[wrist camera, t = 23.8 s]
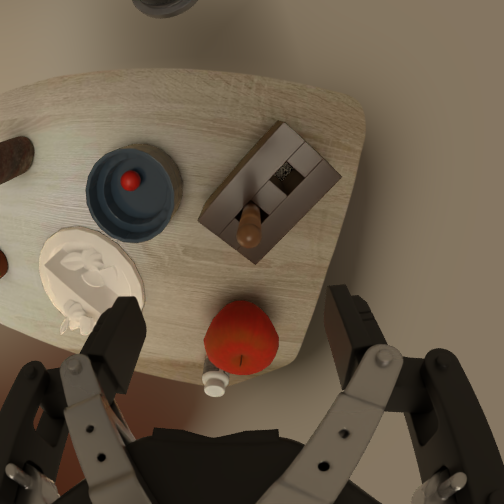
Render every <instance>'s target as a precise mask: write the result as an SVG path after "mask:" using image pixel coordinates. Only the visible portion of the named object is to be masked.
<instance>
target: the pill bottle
mask: <svg viewBox="0 0 504 504" xmlns="http://www.w3.org/2000/svg"><path fill="white" fill-rule="evenodd" d="M202 381H203V383H204V384H205V386H204V391H205V393H206V394H207V395H209V396H212V397H219V396H222V395H223V394H224V392H225V387H226V386H227V385H228V383H229V373H228V372H226V371H224V370H221V369H219V368H217V367H216V366H215V365H214V364H213V363H212V362H211V361H210V360H209V358H208V356H207V353H206V356H205V362H204V369H203V376H202Z"/></svg>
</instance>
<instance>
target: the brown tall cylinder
mask: <svg viewBox="0 0 504 504" xmlns="http://www.w3.org/2000/svg"><path fill="white" fill-rule="evenodd" d="M33 155H34V148H33V145H32V144H31V142H30V141H29V139H28V138H26V137H21V136H20V137H15V138H12V139H9V140H6V141H3V142H0V184H2V183H5V182H7V181H9V180H11V179H13V178H15V177H17V176H19V175H21V174H23V173H25V172H26V171H27V169H28V168H29V167H30V165H31V162H32V158H33Z"/></svg>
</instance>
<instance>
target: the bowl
mask: <svg viewBox="0 0 504 504" xmlns="http://www.w3.org/2000/svg"><path fill="white" fill-rule="evenodd" d="M130 170H132V171H135V172H137V173H138V174H139V176H140V178H141V182H140V185H139V187H138V188H137V189H136V190H134V191H127V190H125V189H124V188H123V187H122V186H121V177H122V175H123V174H124V173H125V172H127V171H130ZM181 199H182V179H181V176H180V172H179V169H178V167H177V166H176V164H175V163H174V161H173V160H172V159H171V157H170V156H169V155H167V154H166V153H165V152H163V151H162V150H161V149H159V148H157V147H154V146H151V145H148V144H131V145H128V146H125V147H122V148H119V149H117V150H114V151H112V152H109V153H107V154H105V155H104V156H103V157H102V158H101V159H99V160H98V161H97V162H96V163H95V165H94V166H93V168H92V170H91V172H90V174H89V176H88V180H87V185H86V200H87V206H88V208H89V211H90V213H91V216H92V218H93V219H94V221H95V222H96V223H97V225H98V226H99V227H100V228H101V230H103V231H104V232H105V233H107V234H108V235H109V236H110V237H112V238H115V239H117V240H120V241H122V242H129V243H140V242H144V241H148V240H151V239H152V238H154V237H155V236H157V235H158V234H160V233H161V232H162V231H163V230H164V228H165V227H166V226H167V224H168V223H169V222H170V220H171V219H172V217H173V216H174V214H175V213H176V211H177V210H178V208H179V205H180V202H181Z"/></svg>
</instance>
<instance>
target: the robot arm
mask: <svg viewBox="0 0 504 504" xmlns="http://www.w3.org/2000/svg"><path fill="white" fill-rule="evenodd" d="M140 1H141V2H142V3H143V4H144V5H146V6H148V7H151V8H166V7H170V6H172V5H175V4H177V3H179V2H180V1H182V0H140ZM324 326H325V331H326V334H327V337H328V341H329V344H330V348H331V351H332V355H333V358H334V362H335V365H336V369H337V373H338V376H339V380H340V384H341V387H342V390H344V392H341V393H340V394H339V395H338V396H337V398H336V399H335V401H334V403H333V404H332V406H331V408H330V409H329V411H328V412H327V414H326V415H325V417H324V418H323V420H322V421H321V423H320V424H319V426H318V427H317V429H316V430H315V432H314V433H313V435H312V436H311V437H310V439H309V440H308V442H307V443H306V445H304V444H302V443H300V442H297V441H295V440H292V439H288V438H282V437H279V432H278V429H274V430H255V431H243V432H239V433H235V434H231V435H226V436H221V437H216V438H211V437H207V436H203V435H199V434H195V433H192V432H188V431H185V430H178V429H165V428H154V430H153V435H152V436H147V437H143V438H140V439H137V440H135V438H134V436H133V435H132V433H131V431H130V429H129V427H128V425H127V423H126V421H125V419H124V417H123V415H122V413H121V411H120V410H119V407H118V405H117V402H116V401H115V399H114V397H115V394H116V393H119V394H126V393H127V389H128V386H129V383H130V380H131V377H132V374H133V372H134V369H135V366H136V363H137V360H138V357H139V354H140V351H141V349H142V346H143V343H144V340H145V338H146V323H145V321H144V318H143V315H142V312H141V309H140V306H139V303H138V300H137V298H136V297H135V296H119V297H117V299H116V301H115V302H114V304H113V306H112V308H108V309H107V310H106V311H105V312H103V313H102V314H101V315H100V317H99V319H98V321H97V322H96V325H95V326H94V328H93V331H92V332H91V333H90V335H89V337H88V339H87V340H86V342H85V344H84V346H83V348H82V350H81V352H80V354H75V355H72V356H70V357H68V358H67V359H66V360H65V361H64V362H63V363H62V364H61V367H60V368H55V369H48V370H46V368H45V367H44V365H43V364H42V363H41V362H39V361H31V362H29V363H27V364H26V365H24V366H23V367H22V369H21V370H20V372H19V374H18V376H17V378H16V380H15V382H14V384H13V386H12V388H11V390H10V392H9V394H8V396H7V398H6V400H5V402H4V404H3V407H2V409H1V411H0V504H382V503H380V502H379V501H377V500H376V499H375V498H373V497H372V496H370V495H369V494H367V493H366V492H365V491H364V490H362V489H361V488H360V487H358V486H357V485H356V484H354V483H353V482H352V481H351V480H349V478H350V476H351V474H352V473H353V471H354V469H355V467H356V466H357V464H358V462H359V461H360V459H361V457H362V455H363V453H364V451H365V450H366V448H367V446H368V444H369V442H370V440H371V438H372V436H373V434H374V432H375V430H376V428H377V426H378V424H379V422H380V419H381V417H382V415H383V413H384V411H388V412H404V416H405V419H406V422H407V426H408V429H409V433H410V436H411V440H412V444H413V448H414V451H415V455H416V459H417V463H418V467H419V472H420V476H421V480H422V485H421V486H419V487H418V489H416V491H415V492H414V494H413V497H412V504H504V465H503V462H502V459H501V456H500V453H499V450H498V447H497V445H496V442H495V440H494V437H493V434H492V432H491V429H490V427H489V425H488V422H487V420H486V417H485V415H484V413H483V410H482V408H481V406H480V404H479V402H478V399H477V397H476V395H475V393H474V391H473V389H472V386H471V384H470V382H469V381H468V378H467V376H466V374H465V372H464V370H463V368H462V367H461V365H460V363H459V361H458V359H457V357H456V356H455V355H454V354H453V353H452V352H450V351H448V350H446V349H441V348H438V349H433V350H431V351H429V352H428V353H427V355H426V356H425V359H422V358H408V357H403V356H402V355H401V353H400V352H399V351H398V350H397V349H396V348H394V347H392V346H390V345H388V344H387V342H386V340H385V338H384V336H383V334H382V332H381V330H380V328H379V326H378V324H377V322H376V320H375V318H374V316H373V314H372V313H371V310H370V308H369V306H368V304H367V302H366V301H365V300H363V299H362V298H361V297H360V296H359V295H355V296H351V295H350V293H349V291H348V288H347V286H346V285H344V284H343V285H333V286H327V289H326V299H325V309H324ZM39 406H40V407H41V408H42V409H43V410H44V411H43V413H42V416H41V418H40V421H39V424H38V427H37V429H36V431H35V429H34V426H33V421H34V417H35V415H36V413H37V410H38V408H39ZM68 433H70V436H71V439H72V442H73V445H74V448H75V451H76V454H77V457H78V459H79V462H80V465H81V468H82V470H83V473H84V475H85V479H83V480H82V481H81V482H79V483H78V484H77V485H76V486H74V487H73V488H71V489H70V490H69V491H67V492H66V493H65V494H63V495H62V496H61V497H60V495H59V494H58V492H57V488H56V485H55V481H56V477H57V473H58V469H59V465H60V461H61V457H62V453H63V450H64V447H65V443H66V440H67V436H68Z"/></svg>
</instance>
